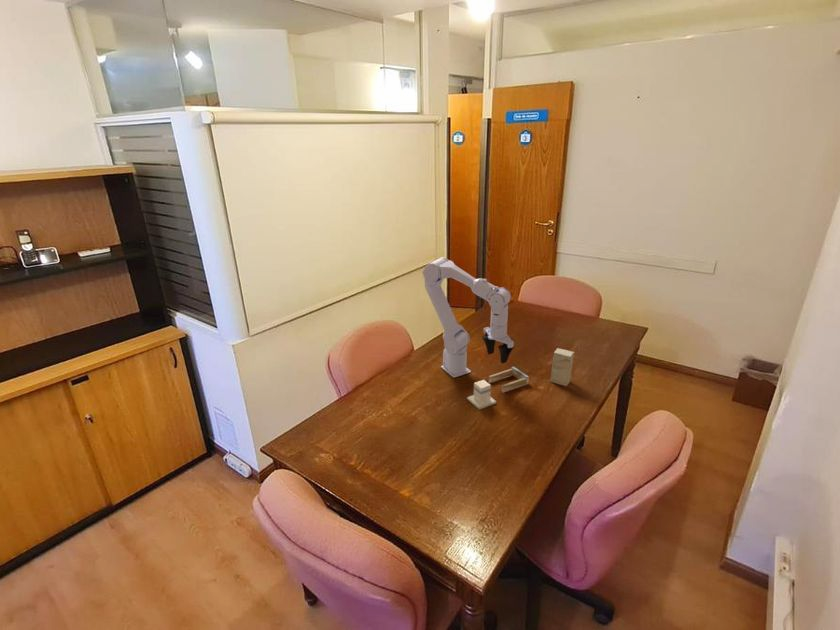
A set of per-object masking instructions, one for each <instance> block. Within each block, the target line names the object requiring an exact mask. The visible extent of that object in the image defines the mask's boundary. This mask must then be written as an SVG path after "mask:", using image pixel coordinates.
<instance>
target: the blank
mask: <svg viewBox="0 0 840 630" xmlns="http://www.w3.org/2000/svg"><path fill="white" fill-rule="evenodd" d="M491 391H492V385H491V383H489V382H487V381H486V380H485V379H482V380H479V381H475V382H473V395H474V399H476V400H477V401H478V402H479V403H480V404H481V403H484V402H487V401H489V400H490V397H491V394H492V393H491Z"/></svg>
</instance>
